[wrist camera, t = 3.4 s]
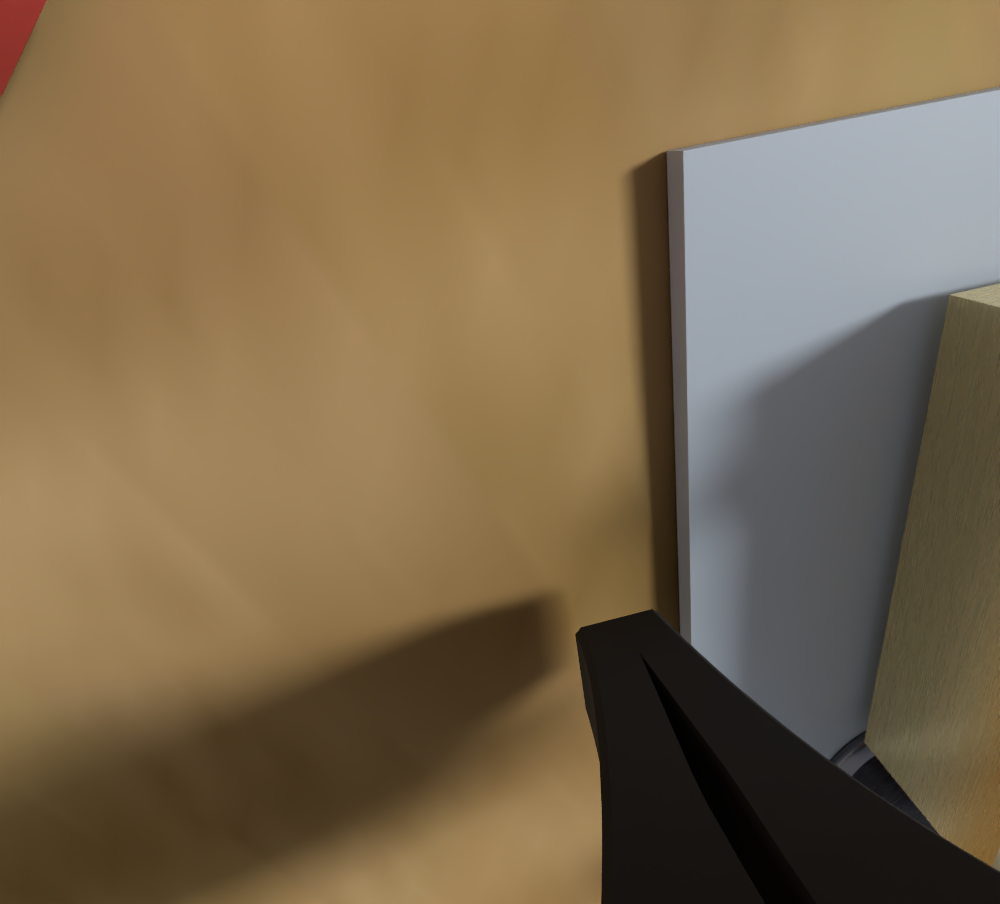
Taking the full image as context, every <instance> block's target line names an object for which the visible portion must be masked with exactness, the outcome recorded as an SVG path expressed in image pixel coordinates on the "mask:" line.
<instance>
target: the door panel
mask: <svg viewBox="0 0 1000 904" xmlns="http://www.w3.org/2000/svg"><path fill="white" fill-rule="evenodd" d="M667 181H668V217H669V252H670V287H671V323H672V358H673V394H674V429H675V465H676V500H677V536H678V571H679V607H680V635H681V636H682V637H683V638H684V639H685V640H686V641H687V642H688V643H689V644H691V645H692V646H693V647H694V648H695V649H696V650H697V651H698V652H699V653H700V654H701V655H702V656H703V657H705V658H706V659H707V660H708V661H709V662H710V663H711V664H712V665H713V666H714V667H716V668H717V669H718V670H719V671H720V672H721V673H722V674H723V675H725V676H726V677H727V678H728V679H729V680H730V681H731V682H733V683H734V684H735V685H736V686H737V687H738V688H740V689H741V690H742V691H743V692H744V693H746V694H747V695H748V696H749V697H750V698H751V699H753V700H754V701H755V702H756V703H757V704H759V705H760V706H761V707H762V708H763V709H765V710H766V711H767V712H768V713H769V714H771V715H772V716H773V717H774V718H776V719H777V720H778V721H779V722H781V723H782V724H783V725H784V726H786V727H787V728H788V729H789V730H791V731H792V732H793V733H794V734H796V735H797V736H798V737H800V738H801V739H802V740H804V741H805V742H806V743H808V744H809V745H810V746H811V747H813V748H814V749H815V750H817V751H818V752H819V753H821V754H822V755H823V756H825V757H826V758H827V759H829V760H830V759H831V758H832V757H833V756H834V755H835V754H836V753H837V752H838V751H839V750H840V749H841V748H842V747H843V746H844V745H845V744H847V743H848V742H849V741H850V740H852V739H853V738H855V737H856V736H858V735H859V734H861V733H862V732H864V731H866V729H867V724H868V718H869V713H870V708H871V703H872V698H873V692H874V687H875V682H876V677H877V671H878V666H879V661H880V656H881V650H882V645H883V640H884V635H885V630H886V624H887V619H888V614H889V609H890V603H891V598H892V593H893V588H894V582H895V577H896V572H897V567H898V562H899V556H900V551H901V546H902V541H903V535H904V530H905V525H906V520H907V514H908V509H909V504H910V499H911V494H912V488H913V483H914V478H915V473H916V467H917V462H918V457H919V452H920V446H921V441H922V436H923V431H924V425H925V420H926V415H927V410H928V405H929V399H930V394H931V389H932V384H933V378H934V373H935V368H936V363H937V357H938V352H939V347H940V342H941V337H942V331H943V326H944V321H945V316H946V310H947V305H948V300H949V295H950V294H954V293H959V292H963V291H968V290H972V289H977V288H981V287H986V286H990V285H995V284H999V283H1000V87H995V88H990V89H984V90H979V91H974V92H969V93H964V94H958V95H953V96H948V97H943V98H938V99H933V100H927V101H922V102H917V103H912V104H907V105H901V106H896V107H891V108H886V109H881V110H876V111H870V112H865V113H860V114H855V115H850V116H844V117H839V118H834V119H829V120H824V121H818V122H813V123H808V124H803V125H798V126H793V127H787V128H782V129H777V130H772V131H767V132H761V133H756V134H751V135H746V136H741V137H736V138H730V139H725V140H720V141H715V142H710V143H704V144H699V145H694V146H689V147H684V148H679V149H673V150H668V151H667Z"/></svg>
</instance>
